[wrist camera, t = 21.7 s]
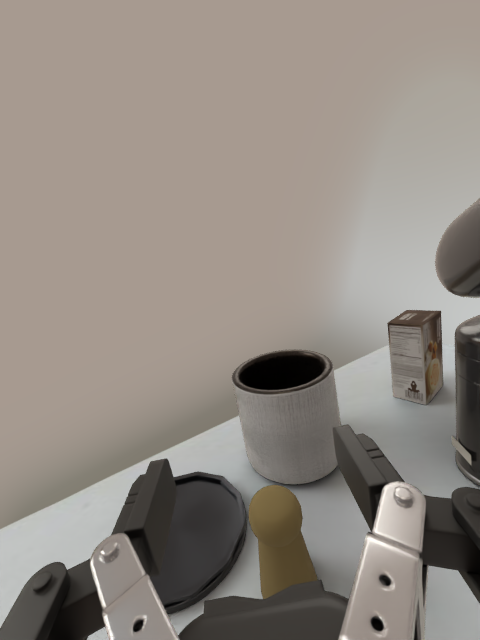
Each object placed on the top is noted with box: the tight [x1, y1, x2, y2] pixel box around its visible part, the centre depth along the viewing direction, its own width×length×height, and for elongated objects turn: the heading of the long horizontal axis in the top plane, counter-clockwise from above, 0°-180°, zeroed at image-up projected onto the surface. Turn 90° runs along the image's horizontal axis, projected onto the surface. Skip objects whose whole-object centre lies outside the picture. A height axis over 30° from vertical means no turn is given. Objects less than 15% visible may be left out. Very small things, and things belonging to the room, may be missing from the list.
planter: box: [232, 350, 341, 484], centre depth 47 cm, size 16×16×16 cm
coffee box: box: [388, 310, 443, 405], centre depth 57 cm, size 9×6×16 cm
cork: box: [249, 485, 318, 599], centre depth 29 cm, size 6×6×11 cm
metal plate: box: [149, 472, 247, 614], centre depth 38 cm, size 18×18×1 cm
